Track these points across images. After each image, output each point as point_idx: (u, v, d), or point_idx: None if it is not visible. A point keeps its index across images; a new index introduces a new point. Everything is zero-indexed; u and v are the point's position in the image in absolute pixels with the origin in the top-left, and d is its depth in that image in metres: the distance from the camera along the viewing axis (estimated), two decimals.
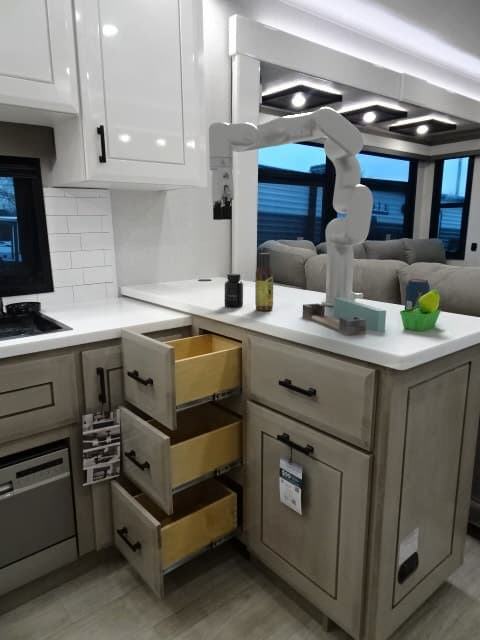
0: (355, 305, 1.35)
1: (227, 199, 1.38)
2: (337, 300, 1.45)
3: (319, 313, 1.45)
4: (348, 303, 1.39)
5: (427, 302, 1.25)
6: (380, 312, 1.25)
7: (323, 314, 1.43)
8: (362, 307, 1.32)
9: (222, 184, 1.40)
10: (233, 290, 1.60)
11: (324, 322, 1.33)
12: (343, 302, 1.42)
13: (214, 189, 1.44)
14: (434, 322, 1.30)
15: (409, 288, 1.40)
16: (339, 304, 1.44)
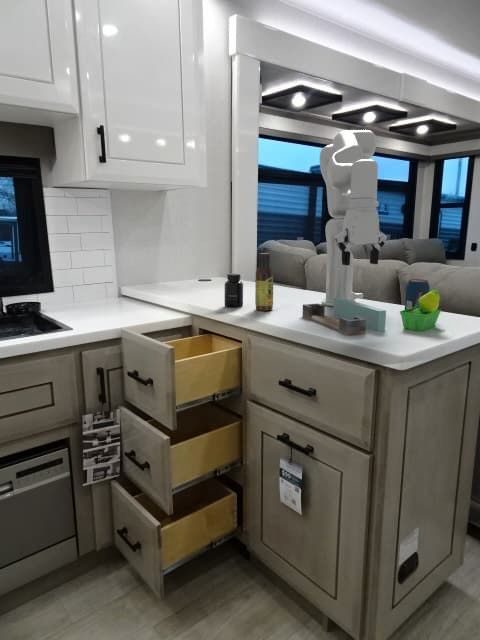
0: (355, 305, 1.35)
1: None
2: (337, 300, 1.45)
3: (319, 313, 1.45)
4: (348, 303, 1.39)
5: (427, 302, 1.25)
6: (380, 312, 1.25)
7: (323, 314, 1.43)
8: (362, 307, 1.32)
9: None
10: (233, 290, 1.60)
11: (324, 322, 1.33)
12: (343, 302, 1.42)
13: (366, 232, 1.29)
14: (434, 322, 1.30)
15: (409, 288, 1.40)
16: (339, 304, 1.44)
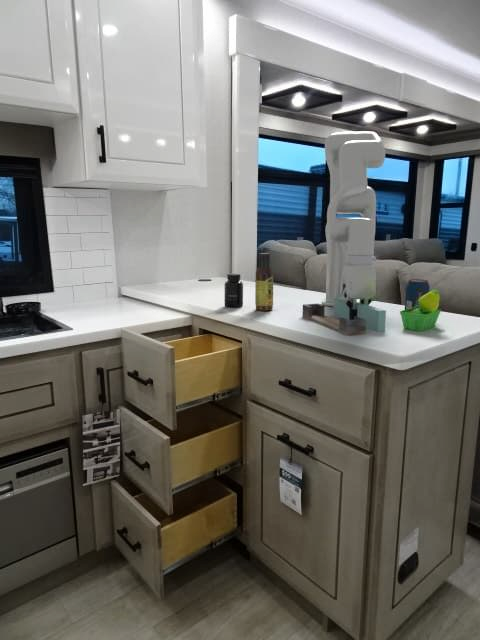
0: None
1: None
2: (337, 300, 1.45)
3: (319, 313, 1.45)
4: None
5: (427, 302, 1.25)
6: (380, 312, 1.25)
7: (323, 314, 1.43)
8: (362, 307, 1.32)
9: None
10: (233, 290, 1.60)
11: (324, 322, 1.33)
12: None
13: (363, 287, 1.33)
14: (434, 322, 1.30)
15: (409, 288, 1.40)
16: (339, 304, 1.44)
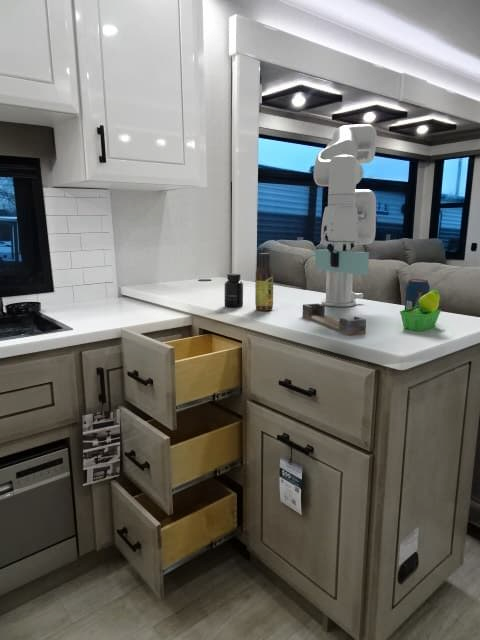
0: (337, 252, 1.29)
1: None
2: (319, 251, 1.39)
3: (319, 313, 1.45)
4: None
5: (427, 302, 1.25)
6: (363, 254, 1.19)
7: (323, 314, 1.43)
8: (344, 252, 1.26)
9: None
10: (233, 290, 1.60)
11: (324, 322, 1.33)
12: (325, 252, 1.35)
13: (345, 229, 1.27)
14: (434, 322, 1.30)
15: (409, 288, 1.40)
16: (321, 255, 1.38)
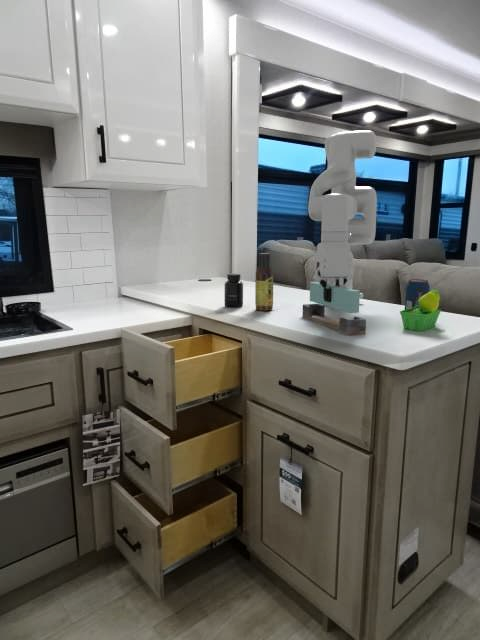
0: (330, 287, 1.31)
1: None
2: (313, 284, 1.40)
3: (319, 313, 1.45)
4: None
5: (427, 302, 1.25)
6: (353, 292, 1.20)
7: (323, 314, 1.43)
8: (336, 289, 1.27)
9: None
10: (233, 290, 1.60)
11: (324, 322, 1.33)
12: (319, 285, 1.37)
13: (337, 265, 1.28)
14: (434, 322, 1.30)
15: (409, 288, 1.40)
16: (315, 288, 1.39)
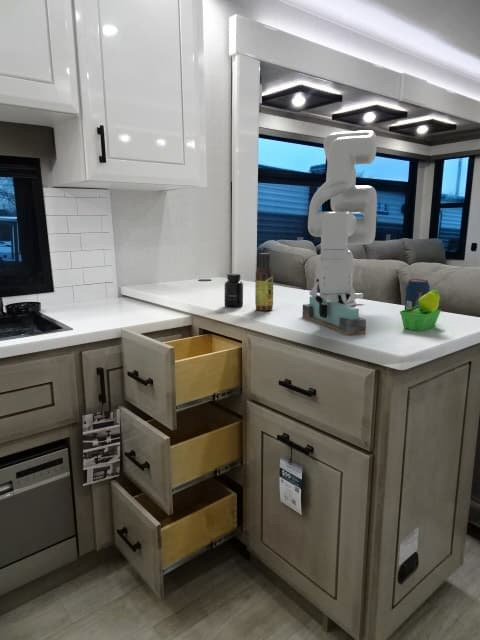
0: (329, 303, 1.32)
1: None
2: (312, 298, 1.42)
3: None
4: None
5: (427, 302, 1.25)
6: (352, 311, 1.22)
7: None
8: (336, 305, 1.29)
9: None
10: (233, 290, 1.60)
11: (324, 322, 1.33)
12: None
13: (337, 282, 1.29)
14: (434, 322, 1.30)
15: (409, 288, 1.40)
16: (314, 303, 1.41)
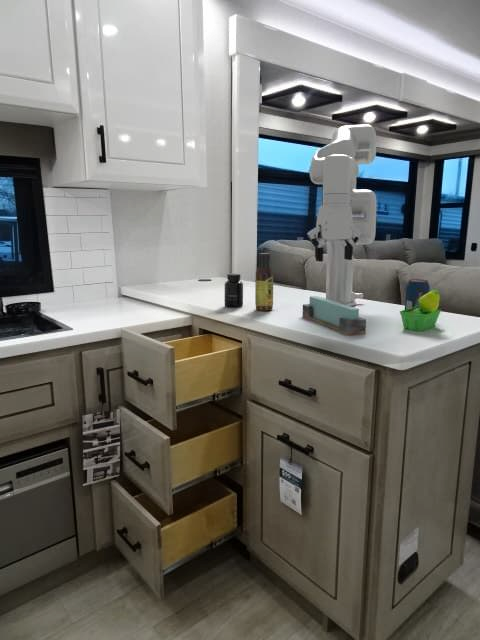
0: (329, 303, 1.32)
1: None
2: (312, 298, 1.42)
3: None
4: (323, 301, 1.36)
5: (427, 302, 1.25)
6: (352, 311, 1.22)
7: None
8: (336, 305, 1.29)
9: None
10: (233, 290, 1.60)
11: (324, 322, 1.33)
12: (318, 300, 1.38)
13: (339, 227, 1.28)
14: (434, 322, 1.30)
15: (409, 288, 1.40)
16: (314, 303, 1.41)
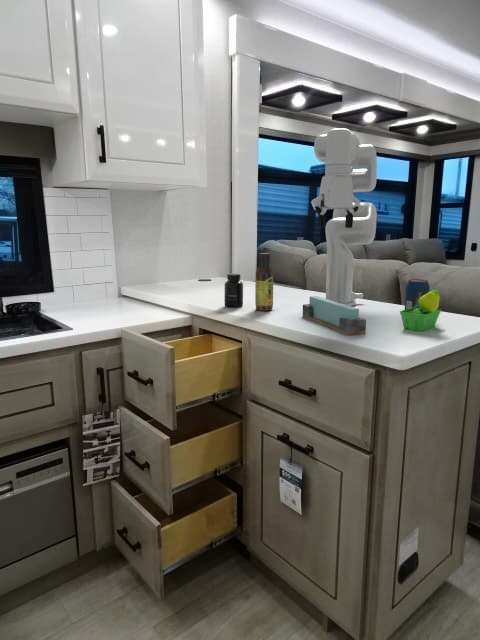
0: (329, 303, 1.32)
1: None
2: (312, 298, 1.42)
3: None
4: (323, 301, 1.36)
5: (427, 302, 1.25)
6: (352, 311, 1.22)
7: None
8: (336, 305, 1.29)
9: None
10: (233, 290, 1.60)
11: (324, 322, 1.33)
12: (318, 300, 1.38)
13: (340, 196, 1.39)
14: (434, 322, 1.30)
15: (409, 288, 1.40)
16: (314, 303, 1.41)
